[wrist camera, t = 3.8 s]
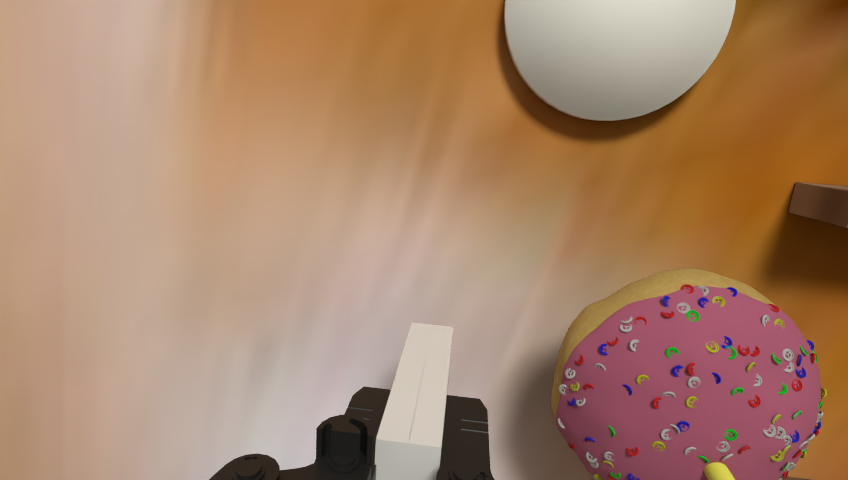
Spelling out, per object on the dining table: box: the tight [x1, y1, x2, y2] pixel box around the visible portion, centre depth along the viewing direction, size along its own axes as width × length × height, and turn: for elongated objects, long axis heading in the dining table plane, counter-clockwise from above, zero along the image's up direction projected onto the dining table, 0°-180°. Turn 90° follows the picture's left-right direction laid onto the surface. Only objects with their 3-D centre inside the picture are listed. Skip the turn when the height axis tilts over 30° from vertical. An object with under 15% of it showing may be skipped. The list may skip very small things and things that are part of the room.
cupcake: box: [551, 268, 827, 480], centre depth 15 cm, size 9×8×12 cm
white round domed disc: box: [504, 0, 736, 121], centre depth 17 cm, size 8×8×1 cm
